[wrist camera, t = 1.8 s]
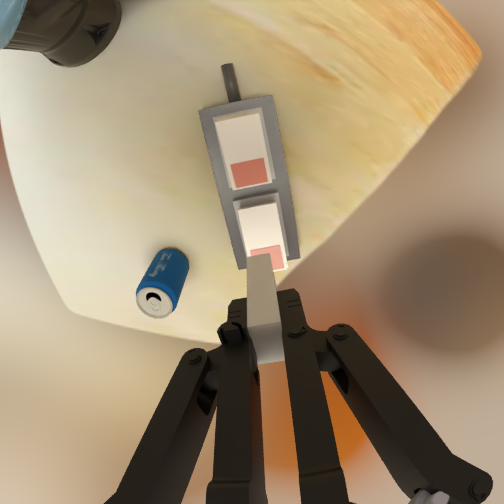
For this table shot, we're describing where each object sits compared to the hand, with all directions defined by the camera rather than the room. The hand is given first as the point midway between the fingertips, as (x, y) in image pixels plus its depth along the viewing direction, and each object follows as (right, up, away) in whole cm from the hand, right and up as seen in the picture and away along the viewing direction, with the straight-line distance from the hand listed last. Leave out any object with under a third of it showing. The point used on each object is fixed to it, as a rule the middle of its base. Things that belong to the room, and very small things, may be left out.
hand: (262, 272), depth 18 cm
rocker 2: (+1, +3, +20) cm, 20 cm away
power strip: (-1, +15, +22) cm, 27 cm away
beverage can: (-15, 0, +30) cm, 33 cm away
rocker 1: (-2, +14, +14) cm, 20 cm away
